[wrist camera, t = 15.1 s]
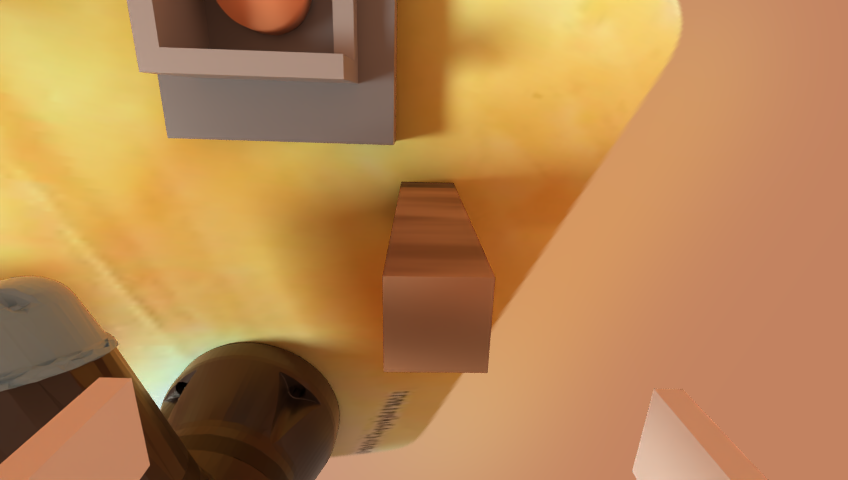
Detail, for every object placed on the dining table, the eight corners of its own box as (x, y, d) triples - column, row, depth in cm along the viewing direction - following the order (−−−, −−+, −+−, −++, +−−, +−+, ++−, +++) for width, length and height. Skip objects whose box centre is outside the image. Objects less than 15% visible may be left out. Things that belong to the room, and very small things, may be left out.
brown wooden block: (451, 232, 33) (487, 372, 16) (401, 231, 33) (383, 371, 16) (453, 182, 32) (495, 277, 15) (401, 182, 32) (382, 276, 15)
